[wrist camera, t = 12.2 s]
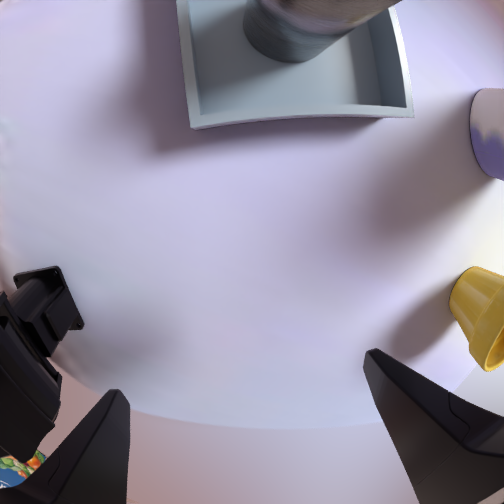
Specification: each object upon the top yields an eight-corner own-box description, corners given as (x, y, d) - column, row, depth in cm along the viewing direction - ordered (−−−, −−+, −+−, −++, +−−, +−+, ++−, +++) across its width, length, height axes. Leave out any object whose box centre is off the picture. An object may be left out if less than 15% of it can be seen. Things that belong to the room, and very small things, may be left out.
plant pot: (423, 314, 27) (472, 369, 18) (471, 237, 23) (533, 276, 15) (457, 331, 29) (496, 375, 20) (497, 269, 26) (544, 305, 17)
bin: (196, 130, 17) (190, 127, 14) (179, -29, 12) (173, -56, 8) (383, 118, 18) (414, 117, 14) (353, -27, 12) (375, -46, 9)
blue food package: (7, 425, 31) (-20, 510, 8) (46, 456, 36) (28, 537, 13) (-2, 425, 31) (-28, 503, 8) (34, 454, 36) (16, 530, 13)
